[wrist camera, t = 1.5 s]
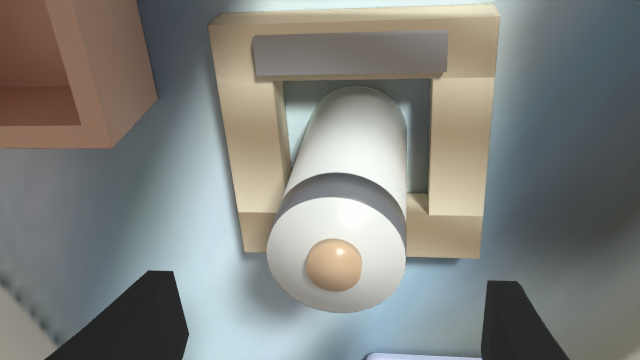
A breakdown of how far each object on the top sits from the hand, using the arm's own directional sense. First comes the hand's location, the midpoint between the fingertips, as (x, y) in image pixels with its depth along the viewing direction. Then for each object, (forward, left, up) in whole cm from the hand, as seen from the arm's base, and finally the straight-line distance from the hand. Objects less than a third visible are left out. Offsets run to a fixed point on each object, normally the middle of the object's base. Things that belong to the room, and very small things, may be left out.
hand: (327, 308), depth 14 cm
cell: (0, 0, -10) cm, 10 cm away
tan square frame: (0, 0, -10) cm, 10 cm away
